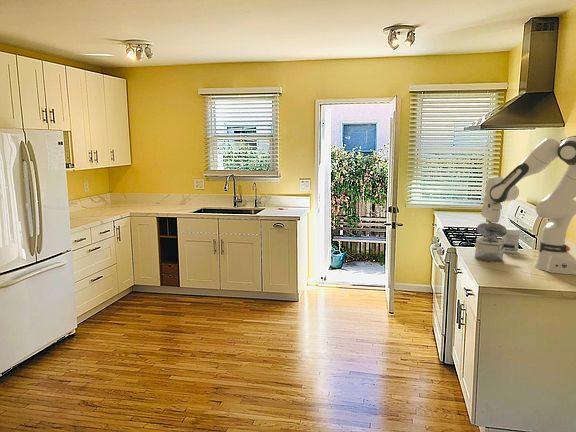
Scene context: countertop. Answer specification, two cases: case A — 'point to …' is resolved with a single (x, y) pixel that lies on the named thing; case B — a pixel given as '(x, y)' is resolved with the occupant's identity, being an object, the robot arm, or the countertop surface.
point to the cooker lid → (491, 230)
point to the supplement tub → (511, 239)
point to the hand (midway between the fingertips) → (488, 226)
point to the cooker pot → (490, 249)
